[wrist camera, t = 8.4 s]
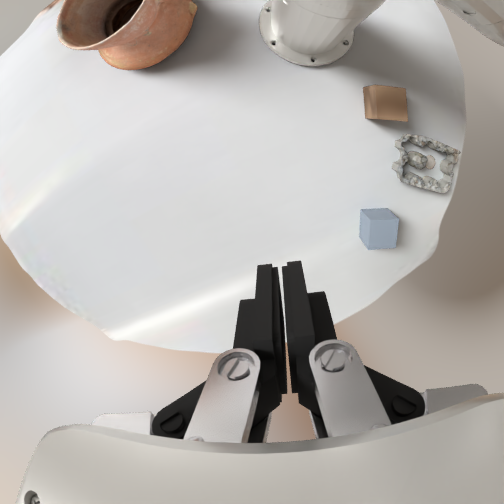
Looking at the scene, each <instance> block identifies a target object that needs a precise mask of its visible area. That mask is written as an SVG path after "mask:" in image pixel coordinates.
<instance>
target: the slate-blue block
mask: <svg viewBox="0 0 504 504" xmlns="http://www.w3.org/2000/svg"><path fill="white" fill-rule="evenodd" d="M398 224H399V218H397V217H396V216H395V215H394V214H393V213H392V212H391V211H390V210H389V209H388V208H381V209H361V212H360V235H359V237H360V239H361V240H362V242H363V243H364V245H365V246H366V248H367V249H368V250H375V249H387V248H396V241H397V233H398Z"/></svg>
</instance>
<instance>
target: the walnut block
mask: <svg viewBox="0 0 504 504" xmlns="http://www.w3.org/2000/svg"><path fill="white" fill-rule="evenodd" d="M363 93H364V105H365V118H368V119H384V120H396V121H406V122H408V116H407V99H406V89H405V88H398V87H390V86H382V85H372V86H368V87H364V88H363Z"/></svg>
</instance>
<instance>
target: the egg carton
mask: <svg viewBox="0 0 504 504" xmlns="http://www.w3.org/2000/svg"><path fill="white" fill-rule="evenodd" d="M407 140H410V142H411V143H413V144H415V145H418V146H421V147H424V145H426V144H427V145H428V147H429V148H431V149H434V150H437V151H440V152H446V153H447V156H446V159H444V160H442V161H441V163H440V169H441V171H442V172H443V173H444V175H443V179H440V180H439V181H437V180H435V179H433V178H431V177H429V176H424V177H423V178H421V177H419V176H418V175H415V174H413V173H411V172H408V173H406V174H405V175H404V177H403V176H402V173H403V168H402V166H405V162H408V164H409V165H411V166H413V167H415V168H418V169H423V168H424V167H426V168H427V169H432V168H433V167H434V166H435V159H434V157H433V156H431V155H428V156H424V155H422V154H421V153H418V152H415V151H410V152H409V153H408V154H407V153H406V151H404V149H405V148H404V147H402V145H401V144H402V142H406V141H407ZM395 147H396V148H398V149H399V151H400V154H401V156H400V159H399V160H398V161H396V162H393V164H392V169H393V170H395V171H396V172H397V177H398V178H399V179H400V181H401V182H403V183H406V184H410V185H413V186H417V187H420V188H424V189H428V190H432V191H435V192H439V193H446V192H447V191H449V189H450V186H451V184H452V183H451V179H452V176H453V174H454V173H453V172H452V168H453V164H456V163H457V159H458V154H459V153H460V151H458V150H456V149H454V148H452V147H449V146H447V145H445V144H443V143H440V142H438V141H435V140H432V139H430V138H427V137H424V136H418V135H409V134H406V135H403V136H402V138H401V139H399V140H396V141H395Z"/></svg>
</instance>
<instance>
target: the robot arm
mask: <svg viewBox="0 0 504 504" xmlns="http://www.w3.org/2000/svg"><path fill="white" fill-rule="evenodd" d="M435 1H436V2H438V3H440V4H441V5H443V6H445V7H446V8H447V9H449V10H450V11H452V12H453V13H454V14H456V15H457V16H459V17H460V18H461V19H463V20H464V21H466V22H467V23H468V24H470V25H471V26H472V27H474V28H475V29H476V30H478V31H479V32H480V33H482V34H483V35H484V36H486V37H487V38H489V39H490V40H492V41H494V42H496V43H497V44H500V45H502V46H504V0H435ZM384 2H385V0H269V1H268V2H267V3H266V4H265V5H264V7H263V9H262V11H261V13H260V17H259V28H260V33H261V35H262V38H263V40H264V41H265V43H266V44H267V46H268V47H269V48H270V49H271V50H272V51H273V52H274V53H276V54H277V55H278V56H280V57H281V58H283V59H285V60H287V61H289V62H292V63H295V64H299V65H304V66H321V65H326V64H329V63H332V62H334V61H336V60H338V59H339V58H341V57H342V56H343V55H344V54H345V53H346V52H347V51H348V50H349V48H350V47H351V45H352V42H353V38H354V29H355V28H356V27H357V26H358V25H359V24H360V23H361V22H363V21H364V20H365V19H366V18H367V17H368V16H369V15H370V14H372V13H373V12H374V11H375V10H376V9H378V8H379V7H380V6H381V5H382V4H383V3H384ZM268 10H269V11H270V12H267V11H268ZM272 43H275V44H276V45H272ZM343 43H345V44H346V45H344V44H343ZM311 59H313V60H314V62H311ZM282 275H283V288H284V303H285V318H286V334H287V346H288V356H289V366H290V376H291V387H292V393H298V397H299V403H300V404H301V405H303V406H304V407H306V408H307V409H309V414H310V417H311V421H312V425H313V429H314V433H315V436H316V439H314V440H304V441H293V442H278V443H266V441H267V436H268V431H269V426H270V422H271V414H272V413H271V412H272V411H273V410H274V409H275V408H276V407H278V406H279V405H280V402H282V394H287V371H286V350H285V328H284V317H283V308H282V299H281V291H280V283H279V274H278V267H272V264H266V265H258V266H257V280H256V294H255V299H246V300H241V301H240V304H239V311H238V318H237V325H236V332H235V338H234V345H233V349H231V350H228V351H226V352H224V353H222V354H221V355H219V356H218V357H217V358H216V360H215V362H214V363H213V366H212V368H211V370H210V373H209V375H208V378H207V380H206V381H205V382H203V383H202V384H200V385H199V386H197V387H196V388H194V389H193V390H191V391H190V392H188V393H187V394H185V395H184V396H182V397H181V398H179V399H177V400H176V401H174V402H173V403H171V404H170V405H168V406H166V407H165V408H163V409H162V410H161V411H159V412H158V413H157V414H152V413H151V412H139V413H117V414H102V415H99V416H98V417H96V418H95V419H94V420H93V422H92V424H91V425H90V424H75V425H65V426H61V427H57V428H54V429H52V430H50V431H49V432H47V433H46V434H45V435H44V437H43V438H42V439H41V441H40V442H39V444H38V446H37V447H36V449H35V451H34V453H33V455H32V458H31V460H30V462H29V464H28V467H27V469H26V472H25V475H24V477H23V480H22V483H21V487H20V490H19V493H18V497H17V501H16V504H504V393H495V394H489V395H488V393H487V391H486V390H485V389H484V388H483V387H482V386H480V385H478V384H469V385H462V386H454V387H446V388H437V389H427V390H426V391H425V392H423V393H419V392H417V391H416V390H414V389H413V388H411V387H408V386H406V385H404V384H402V383H400V382H397V381H396V380H393V379H391V378H389V377H387V376H385V375H383V374H381V373H379V372H377V371H375V370H373V369H371V368H368V367H366V366H365V365H363V363H362V361H361V359H360V357H359V355H358V353H357V351H356V350H355V348H354V347H353V346H352V345H351V344H349V343H348V342H345V341H342V340H337V337H336V333H335V329H334V325H333V321H332V317H331V313H330V309H329V306H328V302H327V298H326V294H325V292H324V291H323V292H314V293H307V289H306V284H305V279H304V274H303V269H302V264H301V261H293V262H287V266H282Z"/></svg>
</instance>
